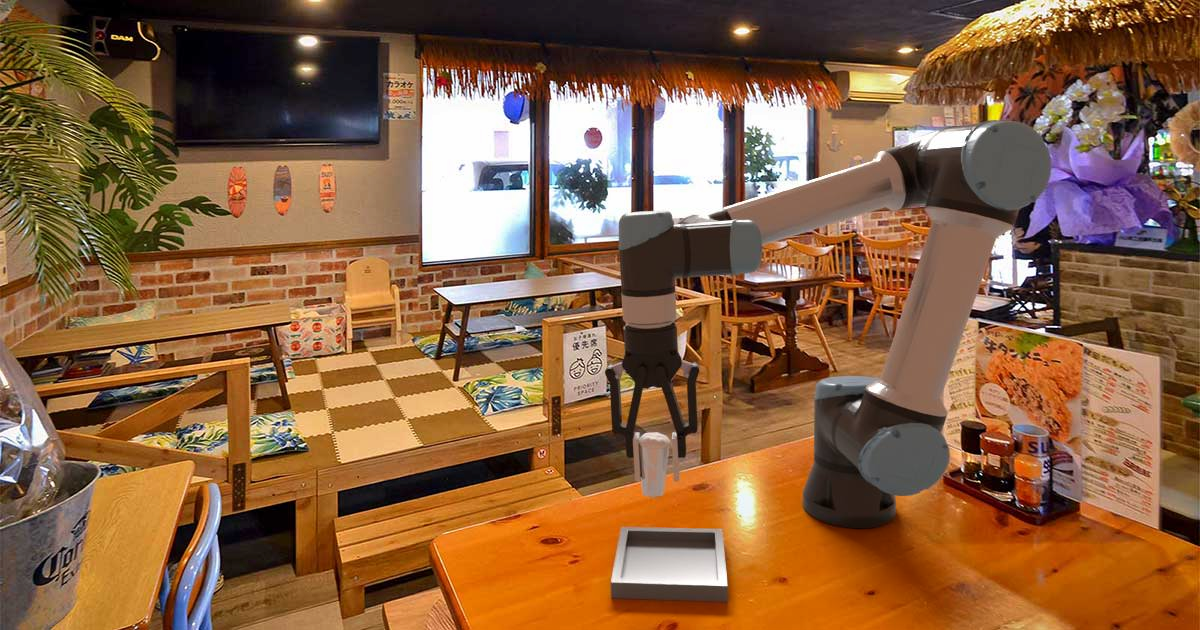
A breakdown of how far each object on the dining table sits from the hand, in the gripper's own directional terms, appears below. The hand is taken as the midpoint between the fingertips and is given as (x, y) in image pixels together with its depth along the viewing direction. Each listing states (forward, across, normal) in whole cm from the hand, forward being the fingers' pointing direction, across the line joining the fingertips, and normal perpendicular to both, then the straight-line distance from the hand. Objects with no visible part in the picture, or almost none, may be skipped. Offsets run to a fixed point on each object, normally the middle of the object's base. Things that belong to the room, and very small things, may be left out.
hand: (657, 477), depth 105 cm
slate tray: (+14, -1, +1) cm, 14 cm away
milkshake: (+3, 0, 0) cm, 3 cm away
